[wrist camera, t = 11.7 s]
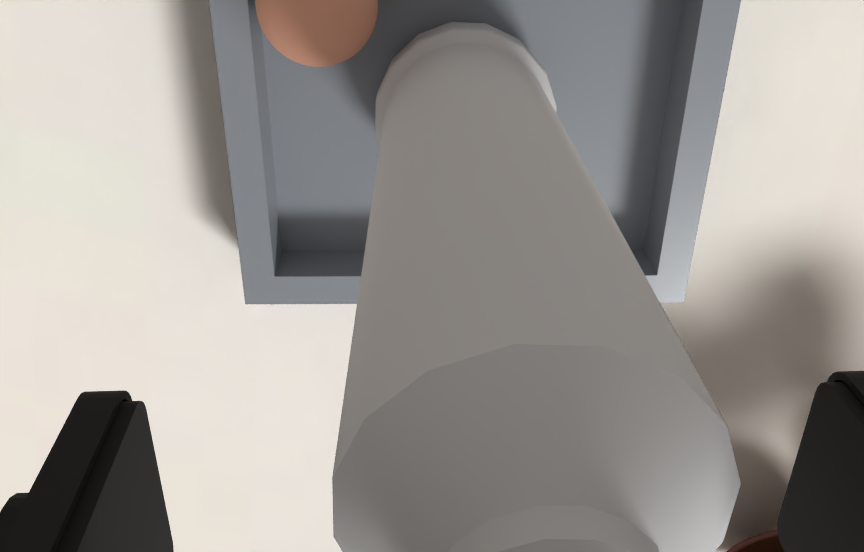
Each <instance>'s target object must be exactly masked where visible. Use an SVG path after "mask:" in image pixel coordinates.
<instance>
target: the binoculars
mask: <svg viewBox="0 0 864 552" xmlns="http://www.w3.org/2000/svg"><path fill="white" fill-rule="evenodd" d="M727 552H784V550H783V548H782V546H781V543H780V540H779V536H778V530H775V531H770V532H766V533H763V534H759V535H756V536H754V537H751V538H748V539H746V540H744V541H742V542H740V543H738V544H737V545H735V546H733V547H732V548H730V549H729V550H728V551H727Z"/></svg>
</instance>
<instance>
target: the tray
mask: <svg viewBox="0 0 864 552" xmlns="http://www.w3.org/2000/svg"><path fill="white" fill-rule="evenodd" d="M740 2H741V0H378V14H377V20H376V23H375V27H374V29H373V31H372V34H371V36H370V38H369V39H368V41H367V42H366V44H365V45H364V46H363V47H362V49H361V50H360V51H358V52H357V53H356V54H355V55H354V56H352V57H351V58H349V59H347V60H345V61H343V62H341V63H339V64H336V65H332V66H327V67H312V66H306V65H302V64H299V63H297V62H294V61H292V60H290V59H288V58H287V57H285V56H284V55H282V54H281V53H280V52H279V51H277V50H276V49H275V48H274V46H273V45H272V44H271V43H270V42H269V40H268V39H267V38H266V36H265V34H264V33H263V31H262V29H261V26H260V24H259V21H258V17H257V13H256V7H255V0H209V6H210V14H211V22H212V31H213V39H214V47H215V55H216V64H217V72H218V80H219V89H220V97H221V105H222V114H223V122H224V130H225V139H226V147H227V155H228V164H229V172H230V180H231V189H232V197H233V205H234V213H235V222H236V230H237V238H238V247H239V255H240V263H241V272H242V280H243V288H244V297H245V304H357V302H358V295H359V288H360V281H361V274H362V267H363V260H364V253H365V246H366V239H367V232H368V225H369V218H370V211H371V204H372V197H373V190H374V183H375V176H376V169H377V162H378V155H379V148H380V146H379V143H378V141H377V138H376V136H375V113H376V96H377V92H378V90H379V88H380V85H381V83H382V81H383V79H384V76H385V74H386V72H387V70H388V67H389V65H390V63H391V61H392V59H393V58H394V57H395V56H396V55H397V54H398V53H399V52H400V51H401V50H402V49H403V48H404V47H405V46H406V45H407V44H408V43H410V42H411V41H412V40H413V39H414V38H415V37H416V36H417V35H418V34H420V33H423V32H425V31H428V30H431V29H433V28H436V27H439V26H441V25H444V24H447V23H449V22H467V23H486V24H488V25H491V26H493V27H495V28H497V29H499V30H501V31H503V32H505V33H507V34H509V35H511V36H513V37H516V38H518V39H519V40H520V41H521V42H522V43H523V45H524V46H525V47H526V48H527V49H528V50H529V52H530V53H531V54H532V55H533V56H534V57H535V59H536V60H537V61H538V62H539V63H540V64H541V66H542V67H543V68H544V70H545V71H546V73H547V76H548V79H549V83H550V86H551V89H552V93H553V96H554V100H555V103H556V106H557V110H556V114H557V116H558V118H559V119H560V121H561V123H562V125H563V127H564V129H565V130H566V132H567V134H568V136H569V138H570V139H571V141H572V143H573V145H574V147H575V149H576V150H577V152H578V154H579V156H580V158H581V160H582V161H583V163H584V165H585V167H586V169H587V171H588V172H589V174H590V176H591V178H592V180H593V182H594V183H595V185H596V187H597V189H598V191H599V192H600V194H601V196H602V198H603V200H604V202H605V203H606V205H607V207H608V209H609V211H610V213H611V214H612V216H613V218H614V220H615V222H616V224H617V225H618V227H619V229H620V231H621V233H622V235H623V236H624V238H625V240H626V242H627V244H628V245H629V247H630V249H631V251H632V253H633V255H634V256H635V258H636V260H637V262H638V264H639V266H640V267H641V269H642V271H643V273H644V275H645V277H646V278H647V280H648V282H649V284H650V286H651V287H652V289H653V291H654V293H655V295H656V297H657V298H658V300H659V302H660V303H673V302H684V298H685V292H686V287H687V282H688V277H689V271H690V266H691V261H692V255H693V250H694V245H695V240H696V234H697V229H698V224H699V219H700V213H701V208H702V203H703V197H704V192H705V187H706V182H707V176H708V171H709V166H710V161H711V155H712V150H713V145H714V139H715V134H716V129H717V124H718V118H719V113H720V108H721V102H722V97H723V92H724V87H725V81H726V76H727V71H728V66H729V60H730V55H731V50H732V44H733V39H734V34H735V29H736V23H737V18H738V13H739V8H740Z"/></svg>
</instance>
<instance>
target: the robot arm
mask: <svg viewBox="0 0 864 552" xmlns="http://www.w3.org/2000/svg"><path fill="white" fill-rule="evenodd" d="M778 536H779V540H780V543H781V546H782V548H783V550H784V552H864V371H844V372H835V373H833V374H832V375H831V376H830V377H829V379H828V381H827V382H824V383H821V384H820V385H819V386H818V387H817V390H816V392H815V396H814V399H813V402H812V406H811V409H810V413H809V416H808V419H807V423H806V426H805V430H804V433H803V437H802V440H801V443H800V447H799V450H798V454H797V457H796V460H795V464H794V467H793V471H792V474H791V477H790V481H789V484H788V488H787V491H786V494H785V498H784V501H783V505H782V508H781V511H780V515H779V518H778ZM0 552H173V541H172V536H171V531H170V526H169V521H168V516H167V511H166V506H165V501H164V496H163V491H162V486H161V481H160V476H159V471H158V466H157V461H156V456H155V451H154V446H153V441H152V436H151V431H150V426H149V421H148V416H147V411H146V407H145V405H144V403H143V402H142V401H132V399H131V396H130V394H129V393H128V392H127V391H95V392H83V393H81V394H80V396H79V397H78V399H77V400H76V402H75V404H74V406H73V408H72V410H71V412H70V414H69V416H68V418H67V420H66V422H65V424H64V426H63V428H62V430H61V431H60V433H59V435H58V437H57V439H56V441H55V443H54V445H53V447H52V449H51V451H50V453H49V455H48V457H47V459H46V461H45V462H44V464H43V466H42V468H41V470H40V472H39V474H38V476H37V478H36V480H35V482H34V484H33V486H32V488H31V490H30V492H29V493H16V494H15V495H13V496H12V497H10V498H9V500H8V501H7V502H6V504H5V505H4V507H3V508H2V510H1V512H0Z"/></svg>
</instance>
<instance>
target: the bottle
mask: <svg viewBox="0 0 864 552" xmlns="http://www.w3.org/2000/svg"><path fill="white" fill-rule="evenodd" d="M556 110H557V106H556V103H555V100H554V96H553V93H552V89H551V86H550V83H549V79H548V76H547V73H546V71H545V70H544V68H543V67H542V66H541V64H540V63H539V62H538V61H537V60H536V59H535V57H534V56H533V55H532V54H531V53H530V52H529V50H528V49H527V48H526V47H525V46H524V45H523V43H522V42H521V41H520V40H519V39H518V38H516V37H513V36H511V35H509V34H507V33H505V32H503V31H501V30H499V29H497V28H495V27H493V26H491V25H488V24H486V23H467V22H449V23H447V24H444V25H441V26H439V27H436V28H433V29H431V30H428V31H425V32H423V33H420V34H418V35H417V36H416V37H415V38H414V39H413V40H412V41H411V42H410V43H408V44H407V45H406V46H405V47H404V48H403V49H402V50H401V51H400V52H399V53H398V54H397V55H396V56H395V57H394V58H393V59H392V61H391V63H390V65H389V67H388V70H387V72H386V74H385V76H384V79H383V81H382V83H381V85H380V88H379V90H378V92H377V96H376V113H375V136H376V138H377V141H378V143H379V146H380V148H379V155H378V162H377V169H376V176H375V183H374V190H373V197H372V204H371V211H370V218H369V225H368V232H367V239H366V246H365V253H364V260H363V267H362V274H361V281H360V288H359V295H358V302H357V309H356V316H355V323H354V330H353V337H352V344H351V351H350V358H349V365H348V372H347V379H346V386H345V393H344V400H343V407H342V414H341V421H340V428H339V435H338V442H337V449H336V456H335V463H334V470H333V477H332V480H333V531H334V538H335V540H336V541H337V543H338V545H339V546H340V548H341V550H342V551H343V552H714V551H715V550H716V549H717V548H718V547H719V546H720V545H721V544H722V542H723V541H724V537H725V534H726V531H727V528H728V525H729V521H730V518H731V515H732V512H733V509H734V505H735V502H736V499H737V496H738V493H739V489H740V486H741V482H740V478H739V474H738V470H737V465H736V461H735V457H734V453H733V448H732V444H731V440H730V436H729V431H728V427H727V425H726V423H725V421H724V419H723V417H722V415H721V414H720V412H719V410H718V408H717V406H716V404H715V403H714V401H713V399H712V397H711V395H710V393H709V392H708V390H707V388H706V386H705V384H704V383H703V381H702V379H701V377H700V375H699V373H698V372H697V370H696V368H695V366H694V364H693V362H692V361H691V359H690V357H689V355H688V353H687V351H686V350H685V348H684V346H683V344H682V342H681V340H680V339H679V337H678V335H677V333H676V331H675V330H674V328H673V326H672V324H671V322H670V320H669V319H668V317H667V315H666V313H665V311H664V309H663V308H662V306H661V304H660V302H659V300H658V298H657V297H656V295H655V293H654V291H653V289H652V287H651V286H650V284H649V282H648V280H647V278H646V277H645V275H644V273H643V271H642V269H641V267H640V266H639V264H638V262H637V260H636V258H635V256H634V255H633V253H632V251H631V249H630V247H629V245H628V244H627V242H626V240H625V238H624V236H623V235H622V233H621V231H620V229H619V227H618V225H617V224H616V222H615V220H614V218H613V216H612V214H611V213H610V211H609V209H608V207H607V205H606V203H605V202H604V200H603V198H602V196H601V194H600V192H599V191H598V189H597V187H596V185H595V183H594V182H593V180H592V178H591V176H590V174H589V172H588V171H587V169H586V167H585V165H584V163H583V161H582V160H581V158H580V156H579V154H578V152H577V150H576V149H575V147H574V145H573V143H572V141H571V139H570V138H569V136H568V134H567V132H566V130H565V129H564V127H563V125H562V123H561V121H560V119H559V118H558V116H557V114H556Z"/></svg>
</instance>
